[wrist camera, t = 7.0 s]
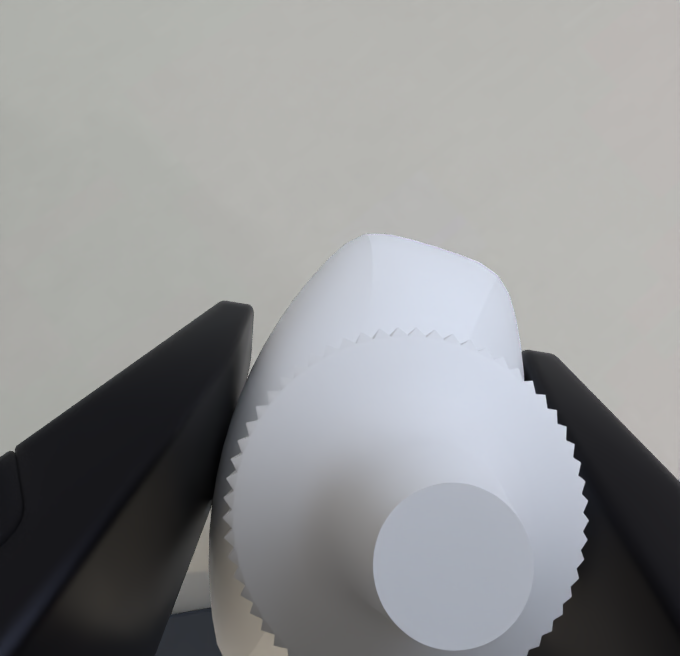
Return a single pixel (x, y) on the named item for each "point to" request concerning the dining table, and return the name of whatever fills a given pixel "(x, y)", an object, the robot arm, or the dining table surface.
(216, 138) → the dining table surface
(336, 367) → the eye dropper bottle
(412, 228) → the dining table surface
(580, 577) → the robot arm
